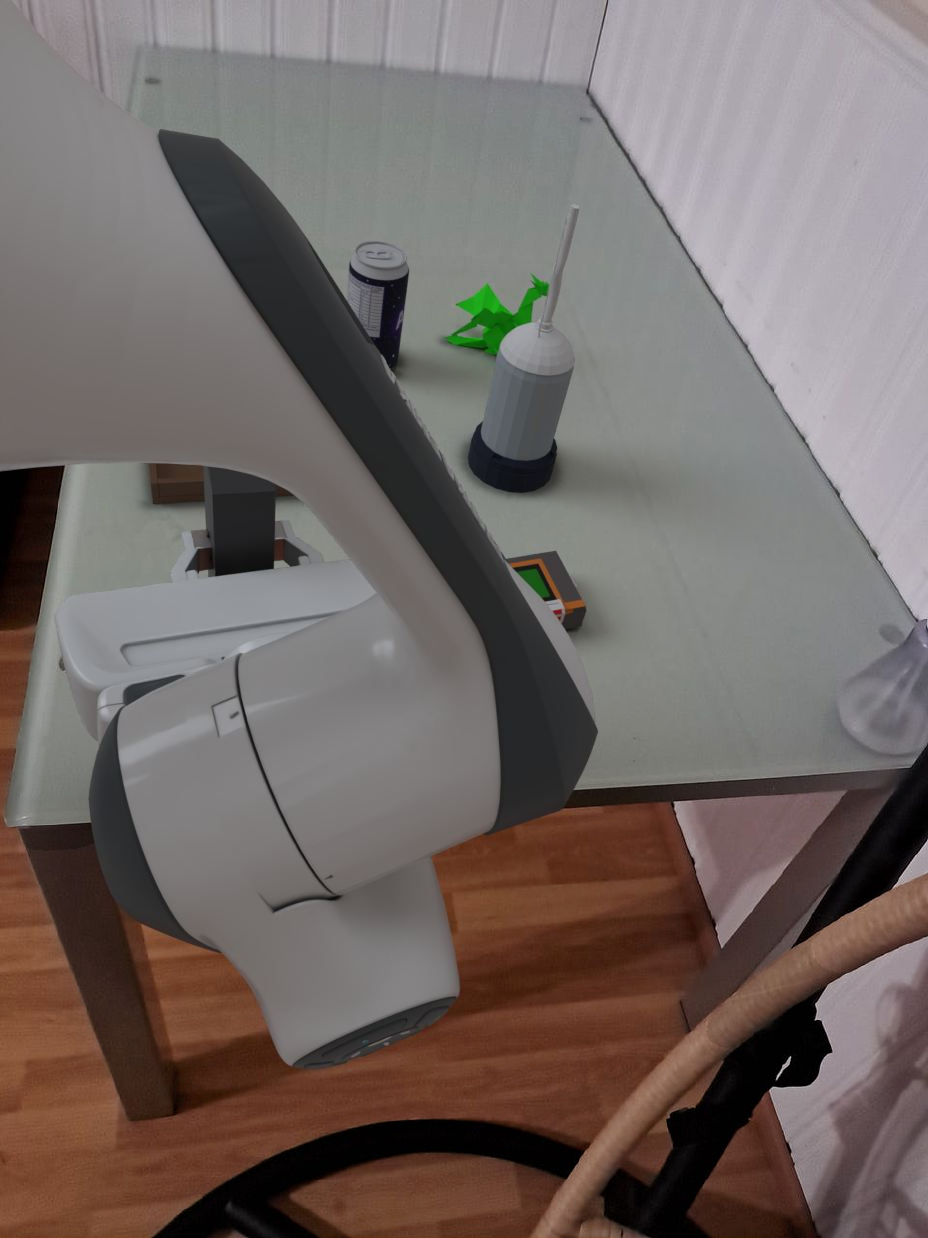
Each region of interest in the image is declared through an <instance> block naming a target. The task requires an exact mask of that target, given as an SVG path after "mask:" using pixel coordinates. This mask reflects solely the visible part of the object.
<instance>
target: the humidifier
mask: <svg viewBox="0 0 928 1238" xmlns="http://www.w3.org/2000/svg"><path fill="white" fill-rule="evenodd" d="M580 207H581V206H580V205H578V204H575V203H572V204H571V205H570V207H569V210H568V215H567V217H565V221H564V225H563V230H562V234H561V237H560V242H559V244H558V245H559V246H558V250H557V254H556V257H555V261H554V263H553V267H552V270H551V275H550V280H549V283H548V284H549V288H548V292H547V296H545V302H544V307H543V309H542V312H541V315H540V317H539V318H538V320H537V321H533V322H532V321H531V322H530V323H527V324H524V325H521V326H518V327H516V328H515V329H513V330H512V331H510V332H509V333H508V334H507V335H506V336H505V337H504V339H503V340H502V342H501V344H500V348H499V351H498V353H497V354H496V358H495V363H494V367H493V372H492V375H491V376H492V377H491V381H490V385H489V389H488V390H489V391H488V396H487V401H486V404H485V410H484V415H483V418H482V421H481V422H479V424H477V425H476V427H475V430H474V432H473V434H472V437H471V440H470V445H469V449H468V454H467V462H468V467H469V468H470V470H471V471H472V473H473V475H474V476H475V477H477V479H479V480H480V481H481V482H482V483H484V484H486V485H488V486H489V487H491V488H493V489H496V490H500V491H504V492H506V493H515V494H517V493H518V494H523V493H531V492H535V491H537V490H539V489H542V488H543V487H545V486H546V484H548V482H549V481H550V480H551V477H552V475H553V469H554V467H555V466H554V465H555V463H556V460H557V457H558V453H557V451H558V444H557V440H556V438H555V436H556V434H557V433H556V432H557V428H558V426H559V422H560V418H561V415H562V411H563V408H564V404H565V400H566V397H567V394H568V390H569V387H570V384H571V380H572V376H573V372H574V369H575V361H576V357H575V352H574V349H573V346H572V344H571V342H570V341H569V339H568V338H567V336H566V335H565V334H564V333H563V332H562V331H561V330H560V329H559V328H557V327H556V326H554V325H553V321H552V320H553V317H554V313H555V310H556V307H557V303H558V301H559V297H560V292H561V289H562V288H561V287H562V280H563V272H564V269H565V266H566V263H567V260H568V256H569V253H570V250H571V245H572V241H573V238H574V237H573V236H574V233H575V229H576V225H577V222H578V217H579V214H580V209H581V208H580Z"/></svg>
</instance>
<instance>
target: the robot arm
mask: <svg viewBox="0 0 928 1238" xmlns="http://www.w3.org/2000/svg"><path fill="white" fill-rule="evenodd" d="M149 463H169V464H187V465H201V466H209V467H217V468H224V469H230V470H234V471H239V472H243V473H247V474H251V475H254V476H257V477H260V478H263V479H265V480H268V481H271V482H272V483H274V484H276V485H278V486H280V487H282V488H284V489H286V490H288V491H289V492H291V493H292V494H294V495H295V496H294V497H296V498H297V499H298V500H299V501H301V502H302V503H303V505H304V506H306V508H307V509H308V510H309V511H310V512H311V513H312V514H313V516H314V517H315V518H316V519H317V521H318V522H319V523H320V524H321V525H322V527H323V528H324V529H325V530H326V532H327V533H328V534H329V535H330V537H331V538H332V539H333V540H334V541H335V543H336V544H337V546H338V547H339V548H340V549H341V551H343V553H344V554H345V556H346V557H347V559H346V558H345V559H341V560H340V559H339V560H331V561H325V560H324V557H323V554H322V552H321V551H318V550H317V549H316V548H314V547H313V546H311V545H310V544H308V543H307V542H306V541H304V540H303V539H301V538H300V537H298V536H296V535H295V532H294V529H293V526H292V523H291V520H290V519H281V520H275V549H274V562H285V564H287V565H288V566H286V567H277V568H274V569H269V570H261V571H254V572H246V573H238V574H231V575H223V576H215V577H208V576H207V577H201V578H200V577H199V574H200V572H203V571H208V570H210V569H212V546H211V540H210V538H209V531H208V529H206V528H205V529H194V530H186V531H185V530H184V531H181V546H182V553H181V554H180V556H179V558H178V560H177V561H176V562H175V564H174V565H173V567H172V569H171V571H170V572H169V573H170V582H163V583H153V584H147V585H140V586H132V587H125V588H116V589H108V590H101V591H93V592H86V593H77V594H72V595H69V596H68V597H67V598H65V599H64V600H63V602H62V603H60V605H59V606H58V607H57V608H56V609H55V611H54V613H53V618H54V625H55V630H56V636H57V640H58V645H59V651H60V655H61V658H62V663H63V666H64V671H65V675H66V679H67V683H68V686H69V691H70V692H71V697H72V700H73V702H74V705H75V708H76V711H77V713H78V716H79V718H80V721H81V723H82V725H83V727H84V728H85V730H86V731H87V733H88V734H89V736H90V737H91V738H92V739H93V740H94V741H96V742H97V743H98V749H97V752H96V756H95V760H94V763H93V767H92V772H91V777H90V782H89V789H88V808H89V809H88V810H89V818H90V824H91V832H92V837H93V842H94V847H95V852H96V855H97V858H98V863H99V865H100V869H101V872H102V875H103V878H104V881H105V883H106V886H107V888H108V891H109V893H110V894H111V896H112V898H113V900H114V902H115V903H116V905H117V906H118V907H119V908H120V909H121V910H122V911H123V912H124V913H125V914H126V915H128V916H129V917H130V918H131V919H133V920H134V921H135V922H138V923H139V924H140V925H143V926H145V927H147V928H150V929H152V930H154V931H157V932H159V933H161V934H164V935H166V936H168V937H171V938H174V939H177V940H179V941H182V942H183V943H187V944H189V945H192V946H195V947H198V948H201V949H204V950H207V951H211V952H214V953H218V954H222V955H223V956H224V957H225V958H226V959H227V960H228V962H229V963H231V965H232V966H233V967H234V969H235V970H237V972H238V973H239V974H240V975H241V977H242V978H243V979H244V982H245V983H246V984H247V985H248V987H249V989H250V990H251V992H252V993H253V995H254V998H255V1000H256V1002H257V1005H258V1006H259V1009H260V1011H261V1014H262V1016H263V1018H264V1021H265V1024H266V1027H267V1030H268V1032H269V1035H270V1038H271V1041H272V1042H273V1045H274V1047H275V1050H276V1052H277V1054H278V1055H279V1057H280V1059H282V1062H284V1063H285V1064H286V1065H288V1066H290V1067H291V1068H295V1069H305V1070H307V1071H316V1070H317V1071H319V1070H325V1069H329V1068H333V1067H336V1066H340V1065H345V1064H347V1063H348V1062H349V1061H352V1060H355V1059H358V1058H363V1057H366V1056H368V1055H370V1054H373V1053H375V1052H377V1051H379V1050H382V1049H383V1048H386V1047H389V1046H392V1045H393V1044H395V1043H398V1042H399V1041H402V1040H404V1039H406V1038H408V1037H411V1036H414V1035H416V1034H418V1033H419V1032H421V1031H423V1029H425V1028H428V1027H430V1026H432V1025H433V1024H435V1023H436V1022H438V1021H439V1020H440V1019H441V1018H442V1017H444V1016H445V1015H446V1014H447V1013H448V1012H449V1010H450V1008H451V1007H452V1005H454V1003H455V1002H456V1000H458V998H459V996H460V992H461V983H460V975H459V968H458V962H457V957H456V951H455V945H454V939H453V937H452V931H451V930H452V929H451V926H450V921H449V917H448V913H447V907H446V903H445V900H444V896H443V892H442V888H441V885H440V880H439V878H438V874H437V870H436V868H435V864H434V861H433V856H435V855H437V854H440V853H442V852H444V851H447V850H449V849H451V848H454V847H456V846H459V845H460V844H463V843H464V842H467V841H469V840H472V839H474V838H476V837H479V836H481V835H483V836H491V835H493V834H496V833H499V832H502V831H504V830H508V829H511V828H513V827H517V826H519V825H522V824H525V823H528V822H531V821H534V820H537V819H540V818H543V817H546V816H549V815H552V814H554V813H559V812H561V811H562V810H563V809H564V807H565V806H566V804H567V802H568V800H569V799H570V797H571V795H572V794H573V792H574V790H575V789H576V786H577V784H578V782H579V780H580V779H581V777H582V775H583V773H584V771H585V768H586V766H587V764H588V762H589V759H590V757H591V755H592V753H593V749H594V746H595V743H596V740H597V738H598V734H599V729H598V726H597V724H596V708H595V706H596V705H595V701H594V700H595V699H594V695H593V689H592V687H591V682H590V680H589V677H588V674H587V672H586V669H585V666H584V663H583V661H582V659H581V657H580V654H579V652H578V650H577V648H576V646H575V645H574V643H573V641H572V639H571V637H570V635H569V633H568V632H567V629H564V627H563V626H562V624H561V623H560V621H559V619H558V618H557V617H556V615H555V614H554V613H553V611H552V610H551V609H550V608H549V606H548V605H547V604H546V603H545V601H544V600H543V599H542V598H541V597H540V596H539V595H538V594H537V593H536V592H535V591H534V590H533V588H532V587H531V586H530V585H529V584H528V583H527V582H526V581H525V580H524V579H523V578H522V577H521V576H520V575H519V574H518V573H517V572H516V571H515V570H514V569H513V568H512V567H511V566H510V565H509V563H508V562H507V560H506V559H507V557H505V555H504V553H503V551H501V548H500V546H499V544H497V543H496V540H495V539H494V537H493V535H492V533H491V532H490V531H489V529H488V527H487V525H486V523H485V521H484V520H483V518H482V517H481V516H480V515H479V512H478V510H477V508H476V507H475V505H474V504H473V502H472V501H471V500H470V498H469V496H468V494H467V491H466V490H465V489H464V487H463V485H462V483H460V481H459V479H458V477H457V475H456V474H455V472H454V470H453V468H451V467H450V464H449V463H448V461H447V459H446V457H445V455H444V454H443V453H442V452H441V450H440V448H439V446H438V444H437V442H436V441H435V438H434V437H433V436H432V434H431V433H430V431H429V430H428V427H427V425H426V424H424V421H423V419H422V418H421V417H420V415H419V413H418V411H417V409H416V408H415V407H414V404H413V402H412V401H411V399H409V397H408V394H407V392H406V391H404V389H403V388H402V385H401V383H400V381H399V380H398V378H397V376H396V375H395V373H394V372H393V371H392V370H391V369H390V368H389V367H388V365H387V363H386V360H385V359H384V357H383V355H381V353H380V352H379V350H378V349H377V347H376V346H375V344H374V343H373V341H372V340H371V338H370V336H369V335H368V333H367V332H366V330H365V328H364V327H363V325H362V324H361V322H360V320H359V319H358V317H357V316H356V314H355V313H354V311H353V309H352V308H351V306H350V305H349V303H348V302H347V297H345V295H344V294H343V292H342V291H341V289H340V287H339V286H338V284H337V283H336V281H335V280H334V278H333V277H332V275H331V273H330V272H329V270H328V269H327V266H326V265H325V264H324V262H323V260H322V259H321V257H320V256H319V255H318V253H317V251H316V249H315V248H314V246H313V245H312V244H311V241H310V240H309V239H308V238H307V236H306V234H305V233H304V232H303V230H302V229H301V227H300V226H299V224H298V223H297V221H296V220H295V219H294V217H293V216H292V215H291V213H290V212H289V211H288V209H287V208H286V207H285V205H283V203H282V202H281V200H279V198H278V197H277V196H276V195H275V194H274V192H273V191H272V190H271V189H270V187H269V186H268V185H267V184H266V183H265V182H264V181H263V179H262V178H261V177H260V176H259V175H258V174H257V173H256V172H255V171H254V170H253V169H252V168H251V167H250V166H249V165H248V164H247V163H246V162H245V161H244V160H243V159H242V158H241V157H240V156H239V154H237V153H235V152H234V150H232V149H231V148H230V147H229V146H228V145H226V143H224V142H223V141H222V140H221V139H219V138H217V137H211V136H205V135H199V134H192V133H188V132H180V131H174V130H169V129H163V128H160V129H159V130H158V131H157V130H155V129H154V128H152V127H151V126H149V125H148V124H146V123H144V122H143V121H141V120H140V119H139V118H137V117H136V116H134V115H133V114H131V113H130V112H129V111H127V110H126V109H124V108H123V107H121V106H120V105H119V104H118V103H117V102H115V101H114V100H113V99H111V98H110V97H109V96H107V95H106V94H104V93H103V92H102V91H101V90H99V88H97V87H96V86H94V85H93V83H91V82H90V81H89V80H88V79H86V78H85V77H84V76H83V75H82V74H81V73H80V72H79V71H78V70H76V68H74V67H73V66H72V65H71V64H70V63H69V62H68V61H66V59H65V58H64V57H63V56H62V55H60V53H59V52H57V50H56V49H54V47H53V46H52V45H51V44H50V43H49V42H48V41H47V40H46V39H45V38H44V37H43V35H42V34H41V33H40V32H39V31H38V30H37V28H36V27H34V25H33V24H32V23H31V22H30V20H28V18H27V17H26V16H25V15H24V13H23V12H22V11H21V10H20V8H19V7H18V6H17V4H15V3H14V1H13V0H0V472H5V471H6V472H7V471H14V470H24V469H33V468H44V467H46V468H47V467H60V466H74V465H75V466H76V465H86V464H87V465H89V464H91V465H92V464H149Z"/></svg>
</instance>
